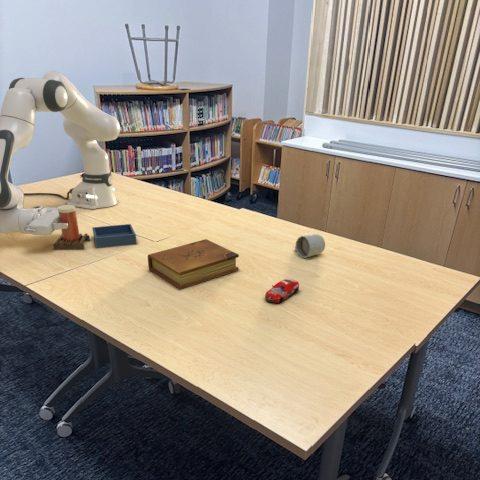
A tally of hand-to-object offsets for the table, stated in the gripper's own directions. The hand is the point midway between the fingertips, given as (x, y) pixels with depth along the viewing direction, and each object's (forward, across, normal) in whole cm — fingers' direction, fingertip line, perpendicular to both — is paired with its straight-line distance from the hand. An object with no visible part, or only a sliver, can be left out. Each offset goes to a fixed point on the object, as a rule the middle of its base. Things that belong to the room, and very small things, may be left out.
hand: (71, 221), depth 171 cm
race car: (+72, -42, +9) cm, 84 cm away
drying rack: (-1, 0, +9) cm, 9 cm away
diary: (+45, -24, +9) cm, 51 cm away
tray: (+14, +4, +9) cm, 17 cm away
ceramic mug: (+85, -10, +9) cm, 86 cm away
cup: (-1, 0, +6) cm, 6 cm away
